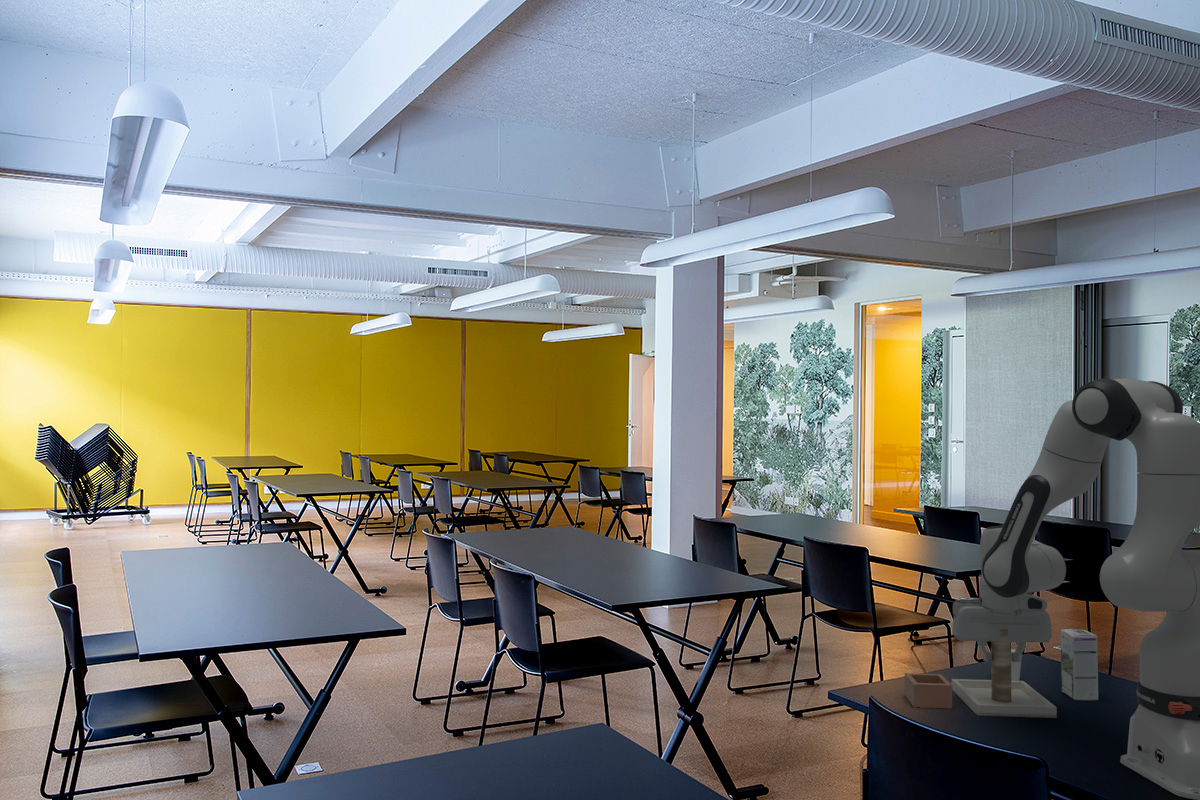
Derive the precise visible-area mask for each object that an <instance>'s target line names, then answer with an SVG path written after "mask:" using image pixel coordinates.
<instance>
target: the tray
mask: <svg viewBox="0 0 1200 800" xmlns="http://www.w3.org/2000/svg"><path fill="white" fill-rule="evenodd" d="M951 685H952V692H954V693H955V694H956V695H957V696H958V697H959V698H960V699H961V700H962V701H963V702H964V703H965V704H966V705H967V706H968V707H969V708H970V710H972V712H973V713H974V714H975V715H976V716H978V717H979V716H980V717H981V716H983V717H1010V718H1013V717H1014V718H1015V717H1016V718H1022V717H1023V718H1041V719H1042V718H1048V719H1051V718H1052V719H1057V714H1058V710H1057V709H1058V708H1057V706H1056V705H1054V703H1052V702H1050V700H1048V699H1046V698H1045V697H1044V696H1043V695H1042V694H1041V693H1039V692H1038V691H1037V690H1035V688H1034V687H1032V686H1031V685H1030V684H1028V683H1026V682H1025V680H1019V681H1011V702H1009V703H1001V702H996V701H994V700H992V689H991V679H967V678H965V679H963V678H962V679H961V678H951Z"/></svg>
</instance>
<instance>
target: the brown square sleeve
mask: <svg viewBox="0 0 1200 800" xmlns="http://www.w3.org/2000/svg"><path fill="white" fill-rule="evenodd" d="M905 696H906V697H905ZM904 697H905V698H906V699H907V701H908V702H909V701H910V702H909V703H910V704H911V706H912V707H913V706H914V707H913V708H916V707H920V708H921V709H923V708H925V709H926V708H927V709H949V710H950V709H953V690H952V683H951V682H949V680H947V678H946V677H944V675H943V674H940V673H913V672H912V673H909V672H905V673H904Z"/></svg>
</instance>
